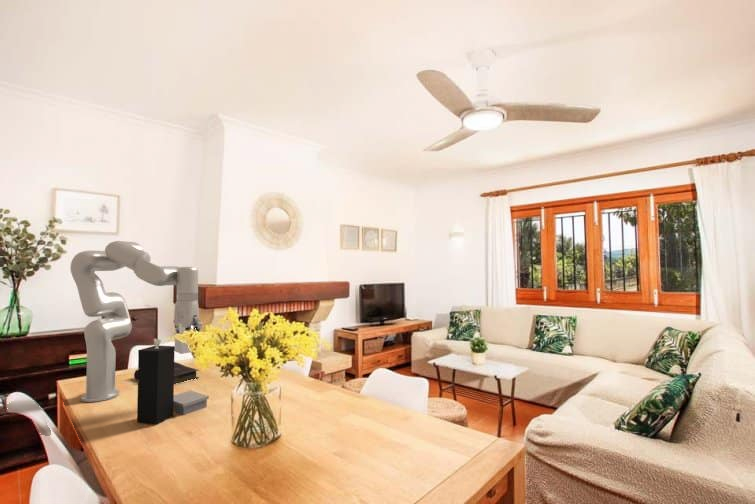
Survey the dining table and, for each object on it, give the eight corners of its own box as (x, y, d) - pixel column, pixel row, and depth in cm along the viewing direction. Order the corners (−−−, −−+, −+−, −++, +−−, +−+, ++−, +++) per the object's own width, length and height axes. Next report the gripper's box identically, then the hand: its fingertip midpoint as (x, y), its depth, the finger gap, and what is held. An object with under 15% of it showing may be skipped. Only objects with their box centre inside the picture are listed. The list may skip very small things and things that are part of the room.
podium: (164, 408, 140) (164, 398, 140) (190, 400, 148) (190, 390, 148) (183, 415, 133) (183, 404, 133) (208, 406, 142) (208, 396, 142)
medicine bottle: (193, 348, 152) (193, 318, 153) (200, 350, 147) (200, 320, 148) (174, 351, 147) (174, 320, 147) (180, 354, 142) (180, 322, 143)
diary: (160, 390, 162) (160, 379, 162) (133, 380, 176) (133, 369, 177) (201, 379, 178) (200, 368, 178) (173, 370, 192) (173, 360, 192)
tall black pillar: (156, 425, 125) (158, 341, 126) (136, 423, 127) (138, 340, 128) (173, 416, 133) (175, 337, 134) (154, 414, 135) (156, 336, 136)
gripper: (165, 297, 149) (164, 342, 148) (192, 299, 140) (191, 346, 140) (183, 296, 155) (182, 338, 155) (209, 297, 147) (209, 342, 146)
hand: (187, 342), depth 147 cm, fingers closed on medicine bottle, 8 cm apart
